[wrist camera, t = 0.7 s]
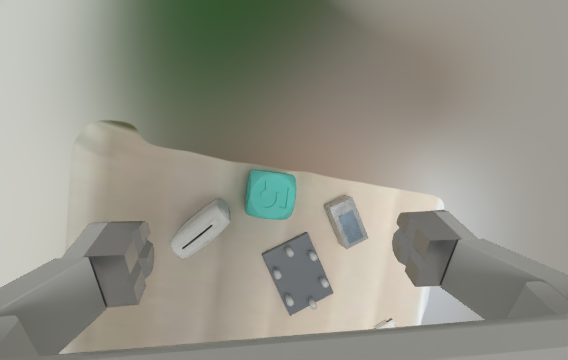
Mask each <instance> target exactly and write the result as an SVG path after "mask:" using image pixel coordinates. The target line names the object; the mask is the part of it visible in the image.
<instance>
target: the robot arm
mask: <svg viewBox="0 0 568 360" xmlns="http://www.w3.org/2000/svg"><path fill="white" fill-rule="evenodd" d="M397 225H398V226H399V229H398V230H397V231H396V232H395V233H394V235H393V240H392V246H393V252H394V254H395V257H396V258H397V260H398V261H399V262H400V263H402V264H404V265H405V266H406V268H405V272H406V274H407V275H408V277H409V278H410V280H411V281H412V283H413V284H414V286H415V287H420V286H441V288H442V289H444V290H445V291H447V292H448V293H449V294H451V295H452V296H453V297H455V298H456V299H458V300H459V301H460V302H462V303H463V304H464V305H466V306H467V307H469V308H470V309H471V310H473V311H474V312H475V313H477V314H478V315H480V316H481V317H482V318H484V319H485V320H481V321H468V322H456V323H443V324H432V325H418V326H406V327H394V328H381V329H369V330H356V331H343V332H331V333H318V334H306V335H293V336H281V337H268V338H256V339H244V340H231V341H219V342H207V343H195V344H183V345H170V346H158V347H146V348H133V349H120V350H108V351H95V352H82V353H69V354H58V353H59V352H60V351H61V350H63V349H64V348H65V347H66V346H67V345H68V344H69V343H70V342H71V341H72V340H73V339H74V338H76V337H77V336H78V335H79V334H80V333H81V332H82V331H83V330H84V329H85V328H86V327H88V326H89V325H90V324H91V323H92V322H93V321H94V320H95V319H96V318H97V317H98V316H99V315H101V314H102V313H103V312H104V311H105V310H106V307H117V306H128V305H138V304H139V302H140V299H141V297H142V294H143V292H144V289H145V287H146V285H145V281H144V279H145V278H147V277H148V276H149V275H150V274H151V271H152V269H153V264H154V248H153V244H152V243H151V242H150V241H148V240H147V238H148V236H149V234H150V230H149V226H148V223H147V222H145V221H123V222H93V223H90V224H89V225H88V226H87V227H86V229H85V230H84V231H83V232H82V233H81V235H80V236H79V237H78V238H77V240H76V241H75V242H74V243H73V244H72V246H71V247H70V248H69V249H68V250H67V252H66V253H65V254H64V256H63V257H62V258H60V259H53V260H52V261H50V262H48V263H46V264H44V265H42V266H40V267H38V268H37V269H35V270H33V271H31V272H29V273H27V274H25V275H23V276H21V277H20V278H18V279H16V280H14V281H12V282H10V283H8V284H6V285H4V286H3V287H1V288H0V360H568V275H567V274H565V273H562V272H560V271H557V270H555V269H553V268H551V267H548V266H546V265H543V264H541V263H539V262H536V261H534V260H532V259H529V258H527V257H524V256H522V255H520V254H518V253H515V252H513V251H511V250H508V249H506V248H503V247H501V246H499V245H497V244H494V243H492V242H489V241H487V240H485V239H478V238H477V237H476V236H475V235H474V234H473V233H471V232H470V231H469V230H468V229H467V228H466V227H465V226H464V225H463V224H461V223H460V222H459V221H458V220H457V219H456V218H455V217H454V216H453V215H451V214H450V213H449V212H448V211H445V210H436V211H425V212H405V213H400V215H399V216H398V219H397Z"/></svg>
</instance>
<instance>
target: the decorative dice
mask: <svg viewBox="0 0 568 360" xmlns="http://www.w3.org/2000/svg"><path fill="white" fill-rule="evenodd" d="M295 198H296V180H295V177H294V176H293V175H290V174H284V173H277V172H269V171H261V170H251V171H250V174H249V179H248V186H247V193H246V205H245V211H246V213H247V214H249V215H251V216H254V217H259V218H265V219H276V220H282V219H287V218H288V217H289V216H290V215H291V214H292V211H293V208H294V204H295Z"/></svg>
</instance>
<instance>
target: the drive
mask: <svg viewBox="0 0 568 360" xmlns="http://www.w3.org/2000/svg"><path fill="white" fill-rule="evenodd" d="M324 207H325V210H326V212H327V215H328V217H329V220H330V222H331V224H332V227H333V229H334V232H335V234H336V236H337V239H338V241H339V244H340V245H342V246H343V247H344V248H346V249H348V248H350V247H352V246H354V245H356V244H358V243H360V242H362V241H364V240H366V239H368V236H367V233H366V231H365V228H364V226H363V223H362V221H361V218H360V216H359V213H358V211H357V208H356V206H355V203H354V201H353V198H352V197H349V196H346V195H344V196H342V197H340V198H338V199H336V200H334V201H332V202H329V203H327V204H325V205H324Z"/></svg>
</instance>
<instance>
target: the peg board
mask: <svg viewBox="0 0 568 360" xmlns="http://www.w3.org/2000/svg"><path fill="white" fill-rule="evenodd" d="M262 256H263V258H264V260H265V262H266V264H267V266H268V269H269V271H270V273H271V275H272V277H273V280H274V282H275V284H276V286H277V288H278V290H279V293H280V295H281V297H282V299H283V301H284V303H285V306H286V308H287V310H288V312H289V314H290V316H291V315H292V314H294V313H296V312H298V311H300V310H302V309H304V308H306V307H308V306H309V305H310V307H311V308H312V309H316V308H317V305H316V303H315V302H317V301H319V300H321V299H323V298H325V297H326V296H328V295H330V294H332V293H333V291H332V289H331V286H330V284H329V282H328V279H327V277H326V275H325V272H324V270H323V268H322V265H321V263H320V261H319V258H318V256H317V254H316V252H315V249H314V247H313V245H312V242H311V240H310V238H309V235H308V233H307V232H305V233H303V234H301V235H299V236H297V237H295V238H293V239H291V240H289V241H287V242H285V243H283V244H281V245H279V246H277V247H275V248H273V249H271V250H269V251H267V252H265V253H263V254H262Z"/></svg>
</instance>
